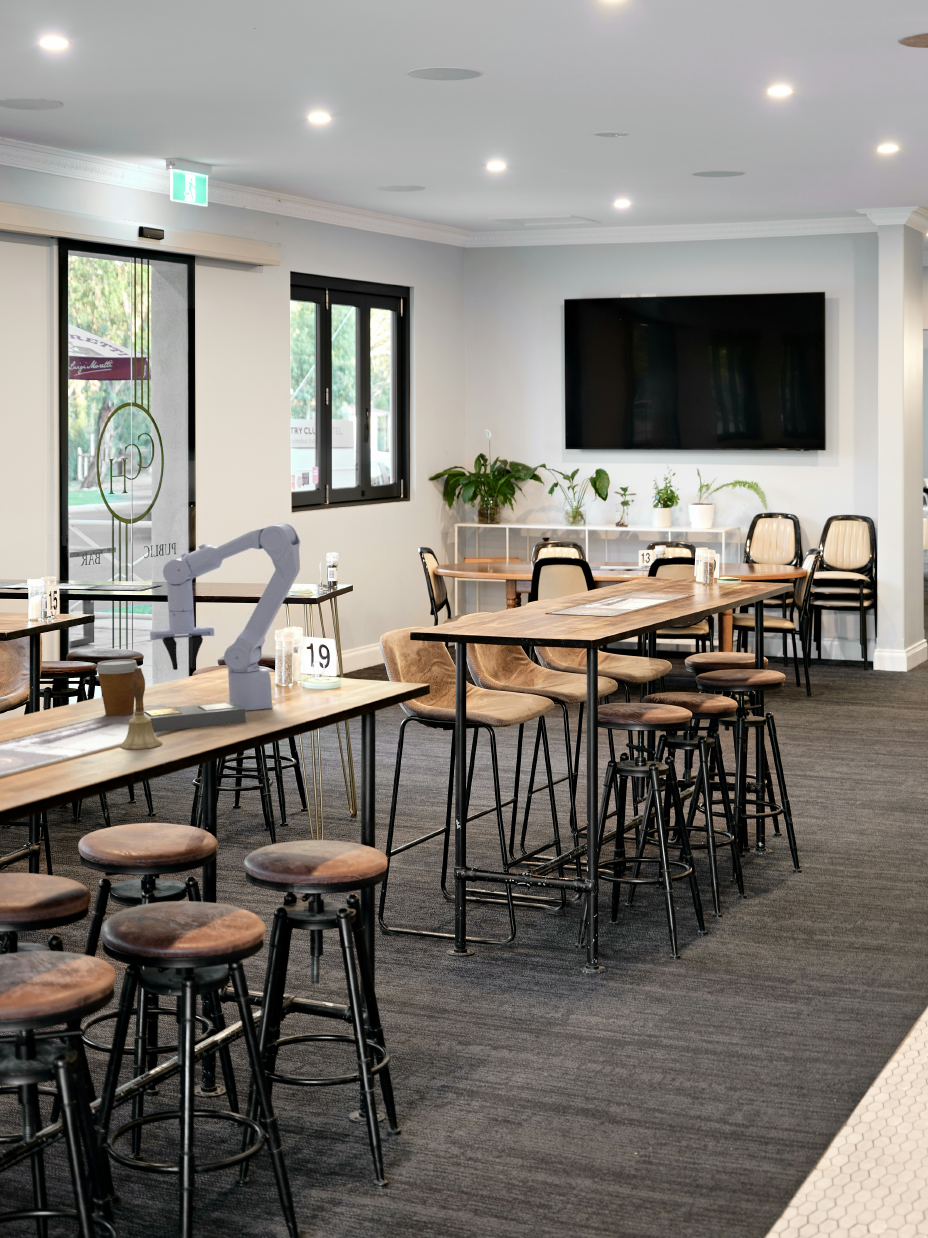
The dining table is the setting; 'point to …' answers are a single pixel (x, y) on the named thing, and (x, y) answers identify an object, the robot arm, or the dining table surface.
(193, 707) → the panel
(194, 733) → the dining table surface
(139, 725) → the hand bell
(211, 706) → the white button
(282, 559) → the robot arm
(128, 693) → the disposable coffee cup
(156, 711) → the brass button
